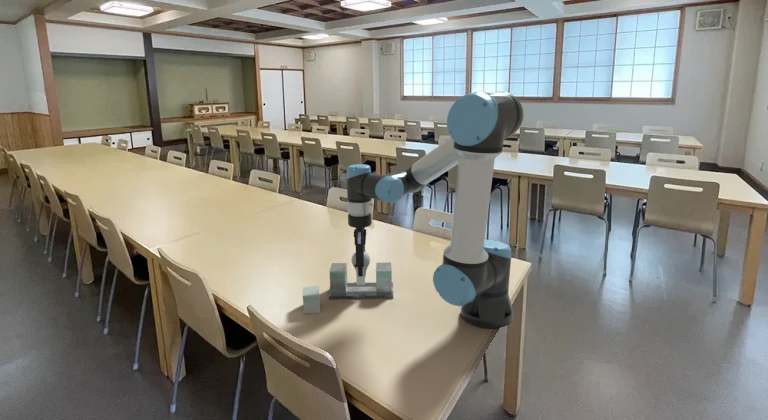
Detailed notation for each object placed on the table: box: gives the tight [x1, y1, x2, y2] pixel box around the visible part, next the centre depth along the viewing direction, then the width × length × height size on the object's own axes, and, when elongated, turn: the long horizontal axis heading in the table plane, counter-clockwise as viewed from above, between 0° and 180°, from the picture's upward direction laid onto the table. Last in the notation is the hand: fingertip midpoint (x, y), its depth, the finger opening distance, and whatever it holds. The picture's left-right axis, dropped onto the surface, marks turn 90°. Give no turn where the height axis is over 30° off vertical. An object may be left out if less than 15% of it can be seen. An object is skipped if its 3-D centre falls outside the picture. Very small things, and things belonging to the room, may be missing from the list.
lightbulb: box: [351, 251, 371, 275], centre depth 147 cm, size 6×6×11 cm
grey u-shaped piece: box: [328, 261, 394, 300], centre depth 148 cm, size 10×21×9 cm, turn 90°
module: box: [302, 285, 321, 314], centre depth 137 cm, size 6×5×6 cm
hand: (361, 280), depth 148 cm, fingers closed on lightbulb, 6 cm apart
